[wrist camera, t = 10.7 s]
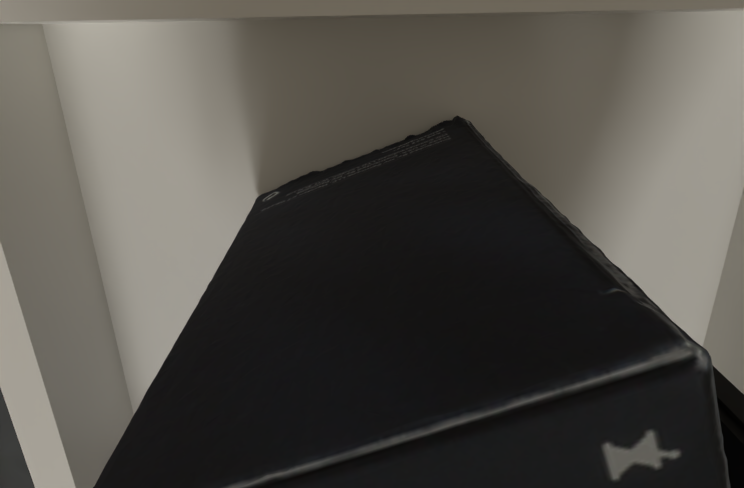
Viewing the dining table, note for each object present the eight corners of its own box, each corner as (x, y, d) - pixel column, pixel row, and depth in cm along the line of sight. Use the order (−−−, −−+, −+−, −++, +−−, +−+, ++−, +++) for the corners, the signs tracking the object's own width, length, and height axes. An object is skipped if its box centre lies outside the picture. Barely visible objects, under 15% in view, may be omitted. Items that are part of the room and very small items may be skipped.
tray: (808, -33, 14) (1011, -59, 9) (670, 494, 20) (752, 614, 16) (12, -19, 13) (-148, -41, 9) (144, 515, 20) (89, 644, 16)
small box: (237, 196, 14) (-10, 556, 5) (467, 107, 14) (751, 308, 4) (376, 472, 18) (401, 985, 8) (561, 414, 17) (821, 899, 8)
